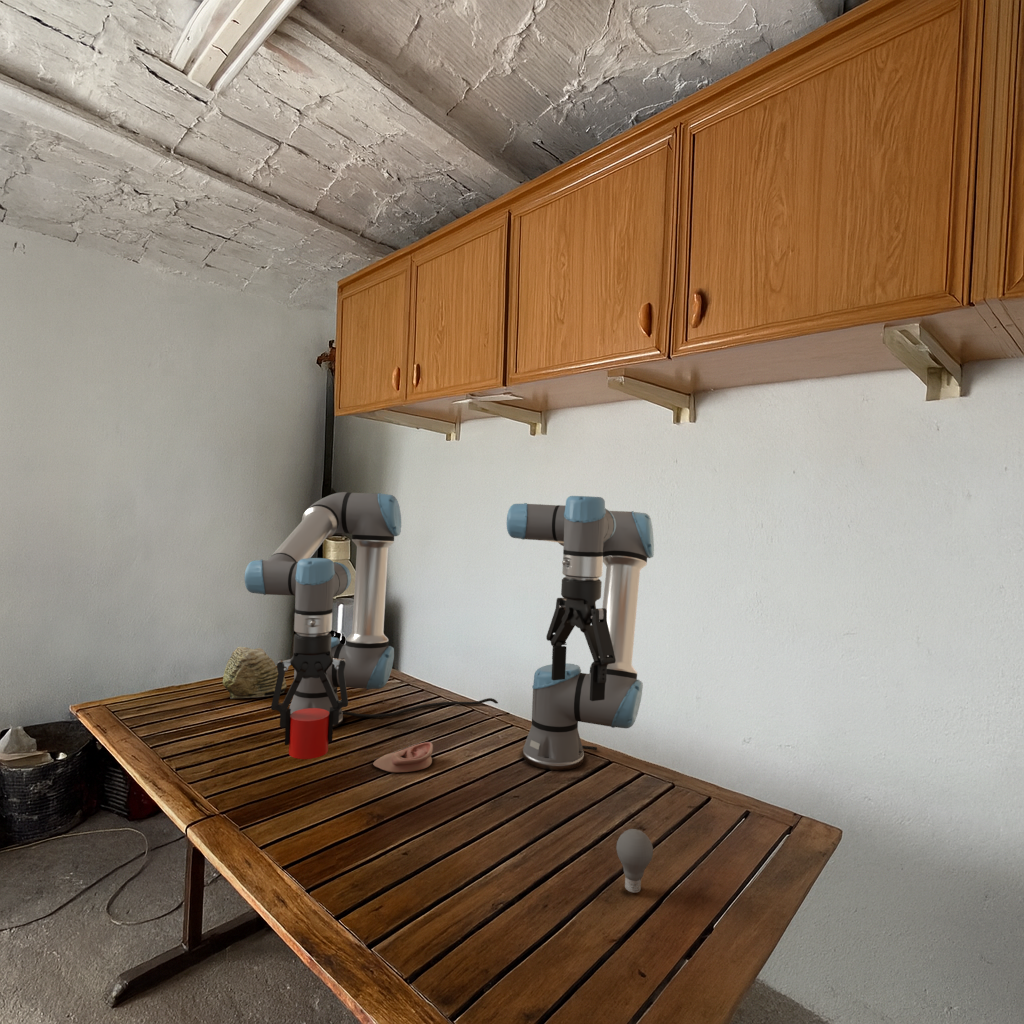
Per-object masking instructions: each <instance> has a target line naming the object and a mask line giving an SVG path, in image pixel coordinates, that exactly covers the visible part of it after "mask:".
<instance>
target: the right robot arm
mask: <svg viewBox="0 0 1024 1024" xmlns="http://www.w3.org/2000/svg"><path fill="white" fill-rule="evenodd" d="M506 531H507V534H508V536H509V537H510V538H512V539H519V540H530V541H532V540H533V541H543V542H544V541H545V542H551V543H558V544H559V545H560V546H562V547H563V548H562V551H563V552H562V553H563V556H562V562H561V563H562V571H561V574H562V575H563V576H564V577H562V579H561V588H560V589H561V590H560V596H561V597H557V598H556V602H555V608H554V612H553V615H552V618H551V621H550V624H549V627H548V630H547V633H546V640H547V641H549V642H550V645H551V646H552V653H551V655H552V656H551V660H552V661H551V664H545V665H543V666H540V667H539V668H537V669H536V670H535V672H534V674H533V683H532V686H531V687H532V701H531V702H532V705H531V726H530V729H529V731H528V734H527V737H526V739H525V743H524V745H523V747H522V758H523V760H524V761H525V762H526V763H528V764H529V765H531V766H533V767H536V768H538V769H539V768H540V769H543V770H547V771H548V770H550V771H567V770H572V769H575V768H578V767H580V766H581V765H582V764H583V763H584V759H585V751H584V750H589V751H597V750H598V747H597V746H593V745H592V746H591V745H583V743H582V740H581V737H580V733H579V723H586V724H591V725H599V726H604V727H610V728H613V729H614V728H619V729H630V728H632V727H633V725H635V722H636V721H637V718H638V713H639V710H640V705H641V702H642V697H643V688H644V685H643V682H642V680H640V679H638V671H637V670H636V669H635V668H634V666H633V654H634V644H635V643H634V642H635V631H636V619H637V612H638V611H637V609H638V599H639V586H640V574H641V571H642V569H644V568H645V567H646V566H647V564H648V559H651V558H654V555H655V539H654V528H653V523H652V518H651V517H650V515H649V514H648V513H646V512H641V511H639V512H638V511H637V512H636V511H634V510H631V511H626V510H625V511H623V510H609V509H607V508H606V501H605V499H604V498H603V497H601V496H589V495H588V496H586V495H570V496H568V497H567V498H566V500H565V505H562V504H558V505H557V504H541V503H540V504H539V503H538V504H537V503H527V502H524V503H513V504H512V505H511V506H510V507H509V508H508V511H507V514H506ZM603 565H605V577H604V578H605V579H604V589H603V590H604V591H603V599H602V583H603V582H602V580H601V579H600V578H601V577H603V569H604V568H603ZM600 599H602V607H601V608H597V605H596V602H597V601H598V600H600ZM575 627H576V628H578V629H579V630H580V632H582V633H583V635H584V637H585V640H586V644H587V646H588V649H589V652H590V654H591V657H592V659H593V662H591V663H590V666H589V673H585V672H582V669H581V666H580V665H579V664H578V665H577V664H575V663H567V642H566V641H567V639H568V638H569V636H570V635H571V633H572V632H573V630H574V628H575Z"/></svg>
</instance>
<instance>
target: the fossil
mask: <svg viewBox="0 0 1024 1024" xmlns="http://www.w3.org/2000/svg"><path fill="white" fill-rule="evenodd" d="M222 676H223V677H222V685H223V687H224V688H225V690H226V691H228V693H229V698H230V699H250V698H264V697H271V696H272V697H273V696H274V691H275V686H276V682H277V677H278V670H277V664H276V663H275V662H274V660H273V659H272V658H271V657H270V656H269V655H268V654H267V653H266V652H265V650H264V649H263V648H260V647H258V648H251V647H247V646H246V647H245V646H238V647H237V648H236V649H235V650H233V651H232V653H231V656H230V657H229V659H228V660H227V663H226V666H225V668H224V671H223V675H222ZM287 687H288V686H287V680H286V678H285V676H284V680H283V684H282V689H281V693H280V694H284V693H285V691H286V689H287Z"/></svg>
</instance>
